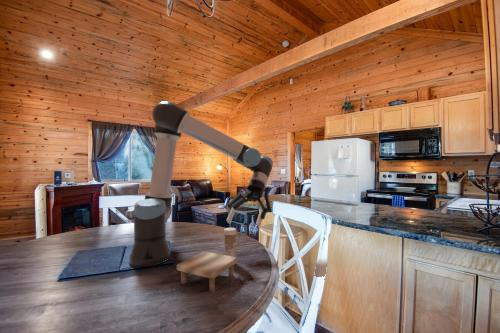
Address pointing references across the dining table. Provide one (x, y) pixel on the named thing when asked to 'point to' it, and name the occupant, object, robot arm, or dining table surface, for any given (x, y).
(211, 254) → the stool
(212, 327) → the dining table surface
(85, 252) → the dining table surface
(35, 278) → the dining table surface
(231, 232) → the spice jar
